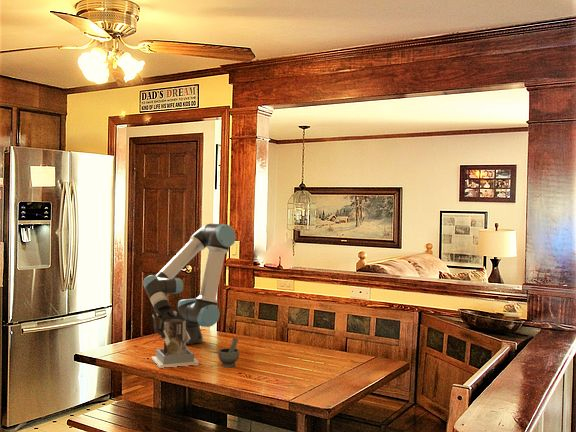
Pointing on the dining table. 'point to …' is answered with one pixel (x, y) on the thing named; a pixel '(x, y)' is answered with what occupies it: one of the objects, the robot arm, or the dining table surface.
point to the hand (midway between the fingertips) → (178, 341)
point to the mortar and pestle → (229, 354)
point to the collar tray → (174, 359)
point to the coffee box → (175, 337)
